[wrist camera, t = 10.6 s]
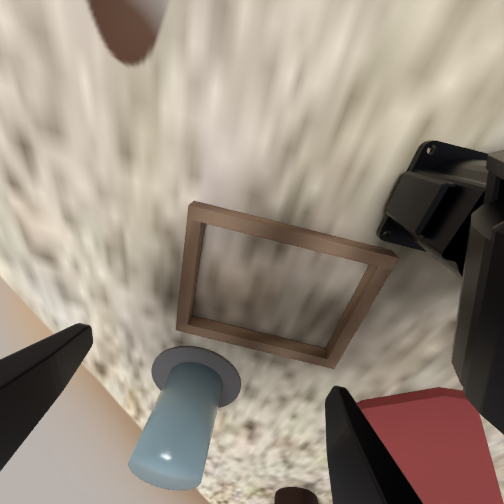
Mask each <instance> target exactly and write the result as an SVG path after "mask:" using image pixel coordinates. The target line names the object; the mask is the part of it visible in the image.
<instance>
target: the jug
mask: <svg viewBox="0 0 504 504" xmlns="http://www.w3.org/2000/svg"><path fill="white" fill-rule="evenodd" d="M222 387H223V382H222V379H221V377H220V376H219V374H218V373H217V372H216V371H215V370H213V369H212V368H210V367H208V366H206V365H204V364H200V363H196V362H183V363H179V364H177V365H175V366H174V367H173V368H172V369H171V371H170V373H169V375H168V377H167V380H166V382H165V384H164V386H163V388H162V390H161V393H160V395H159V397H158V399H157V401H156V403H155V406H154V408H153V410H152V412H151V414H150V416H149V419H148V421H147V423H146V425H145V427H144V429H143V432H142V434H141V436H140V438H139V440H138V443H137V445H136V447H135V449H134V451H133V453H132V456H131V458H130V460H129V463H128V465H129V468H130V470H131V471H132V473H133V474H134V475H135V476H137V477H138V478H140V479H141V480H143V481H145V482H147V483H149V484H151V485H154V486H157V487H160V488H164V489H169V490H179V491H181V490H182V491H183V490H190V489H194V488H196V487H197V486H199V485H200V483H201V480H202V475H203V471H204V467H205V462H206V458H207V453H208V449H209V444H210V440H211V436H212V431H213V427H214V422H215V418H216V413H217V409H218V405H219V400H220V396H221V391H222Z"/></svg>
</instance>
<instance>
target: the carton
mask: <svg viewBox="0 0 504 504" xmlns="http://www.w3.org/2000/svg"><path fill="white" fill-rule="evenodd" d="M357 405H358V406H359V408H360V409H361V411H362V412H363V414H364V415H365V417H366V418H367V420H368V421H369V423H370V424H371V426H372V427H373V429H374V430H375V432H376V433H377V435H378V436H379V438H380V439H381V441H382V442H383V444H384V445H385V447H386V448H387V450H388V451H389V453H390V454H391V456H392V457H393V459H394V460H395V462H396V463H397V465H398V466H399V468H400V469H401V471H402V472H403V474H404V475H405V477H406V478H407V480H408V481H409V483H410V484H411V486H412V487H413V489H414V490H415V492H416V493H417V495H418V496H419V498H420V499H421V501H422V502H423V504H504V503H503V500H502V496H501V492H500V488H499V485H498V481H497V477H496V474H495V470H494V466H493V463H492V459H491V455H490V452H489V448H488V444H487V440H486V437H485V433H484V429H483V426H482V422H481V418H480V415H479V412H478V411H477V410H476V409H475V407H474V406H473V405H472V404H471V403H470V402H469V400H468V399H467V398H466V397H465V396H464V394H463V391H461V390H454V389H447V388H440V387H438V388H432V389H426V390H420V391H414V392H408V393H402V394H396V395H391V396H385V397H379V398H373V399H367V400H361V401H360V402H358V403H357Z"/></svg>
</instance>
